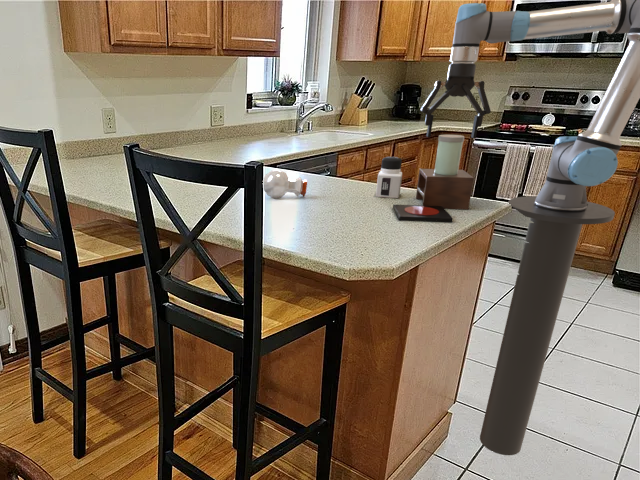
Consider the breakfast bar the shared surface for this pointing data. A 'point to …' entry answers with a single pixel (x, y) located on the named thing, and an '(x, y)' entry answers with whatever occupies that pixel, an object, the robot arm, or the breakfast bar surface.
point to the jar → (448, 154)
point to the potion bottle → (283, 184)
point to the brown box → (444, 189)
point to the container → (389, 178)
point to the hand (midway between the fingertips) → (450, 137)
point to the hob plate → (422, 213)
